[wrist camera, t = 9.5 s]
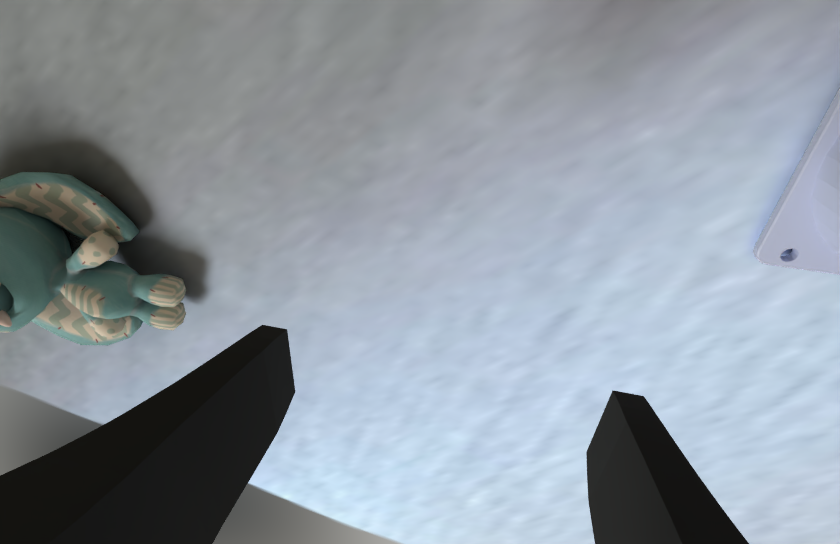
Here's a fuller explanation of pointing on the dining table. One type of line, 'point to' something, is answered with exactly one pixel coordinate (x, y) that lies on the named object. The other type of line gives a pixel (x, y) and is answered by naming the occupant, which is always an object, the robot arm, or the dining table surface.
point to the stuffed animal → (75, 264)
